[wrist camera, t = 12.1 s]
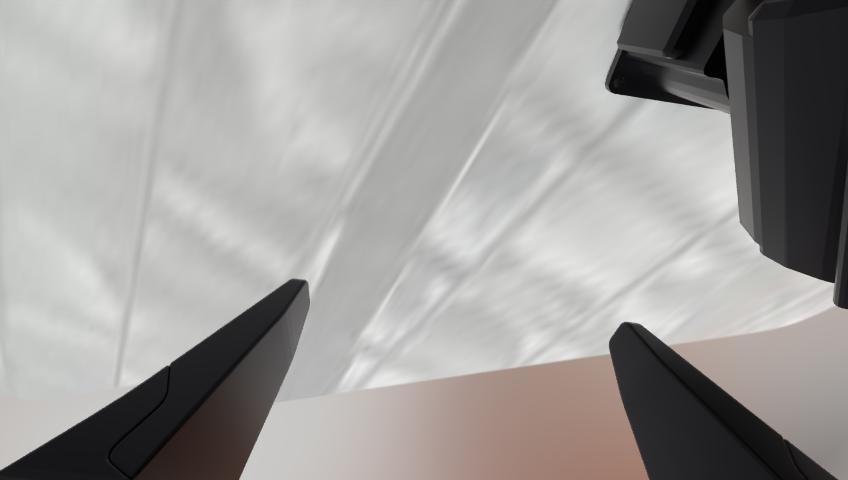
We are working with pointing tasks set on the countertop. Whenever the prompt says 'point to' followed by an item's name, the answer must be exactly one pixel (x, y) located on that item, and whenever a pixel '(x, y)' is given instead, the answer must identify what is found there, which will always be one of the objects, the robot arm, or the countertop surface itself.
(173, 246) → the countertop surface
